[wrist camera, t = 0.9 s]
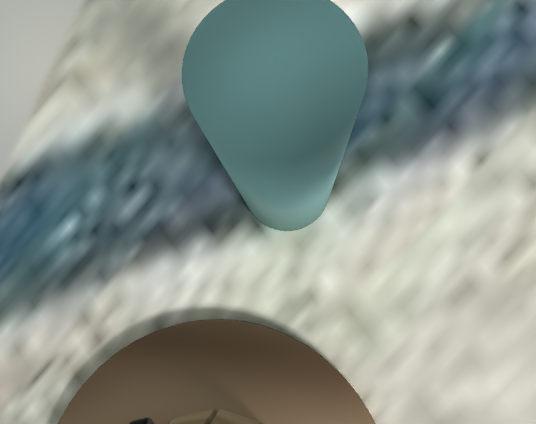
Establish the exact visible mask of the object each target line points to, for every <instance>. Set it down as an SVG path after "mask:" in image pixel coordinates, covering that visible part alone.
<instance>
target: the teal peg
mask: <svg viewBox="0 0 536 424" xmlns="http://www.w3.org/2000/svg"><path fill="white" fill-rule="evenodd" d="M367 80H368V59H367V53H366V49H365V45H364V43H363V40H362V37H361V35H360V33H359V31H358V30H357V28H356V26H355V24H354V23H353V22H352V21H351V19H350V18H349V17H348V15H347V14H346V13H345V12H344V11H343V10H342V9H341V8H339V7H338V6H337V5H335V4H334V3H333V2H332V1H330V0H225V1H224V2H222V3H220V4H219V5H218V6H217V7H215V8H214V9H213V10H212V11H211V12H210V13H209V14H208V15H207V16H206V17H205V18H204V19H203V20H202V21H201V23H200V24H199V25H198V27H197V28H196V30H195V31H194V33H193V35H192V36H191V38H190V41H189V43H188V45H187V48H186V51H185V55H184V59H183V66H182V84H183V91H184V95H185V98H186V102H187V104H188V107H189V109H190V111H191V113H192V115H193V117H194V118H195V120H196V121H197V123H198V125H199V126H200V128H201V130H202V131H203V133H204V135H205V136H206V138H207V140H208V141H209V143H210V145H211V146H212V148H213V150H214V151H215V153H216V155H217V156H218V158H219V159H220V161H221V163H222V164H223V166H224V168H225V169H226V171H227V173H228V174H229V176H230V178H231V179H232V181H233V183H234V184H235V186H236V188H237V189H238V191H239V192H240V194H241V196H242V197H243V199H244V201H245V202H246V204H247V206H248V207H249V209H250V211H251V212H252V214H253V215H254V216H255V217H256V218H257V219H258V220H259V221H260V222H261V223H263V224H264V225H266V226H268V227H270V228H273V229H276V230H281V231H293V230H298V229H301V228H304V227H306V226H308V225H309V224H311V223H313V222H314V221H315V220H316V219H317V218H318V217H319V216H320V215H321V213H322V212H323V211H324V209H325V207H326V205H327V202H328V199H329V196H330V193H331V190H332V187H333V184H334V181H335V178H336V175H337V173H338V170H339V167H340V164H341V161H342V158H343V155H344V152H345V149H346V146H347V143H348V140H349V138H350V135H351V132H352V129H353V126H354V123H355V120H356V117H357V114H358V111H359V108H360V105H361V102H362V100H363V97H364V94H365V90H366V85H367Z"/></svg>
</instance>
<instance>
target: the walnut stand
mask: <svg viewBox="0 0 536 424" xmlns="http://www.w3.org/2000/svg"><path fill="white" fill-rule="evenodd" d="M144 417H149V418H151V419H152V421H153V422H154V424H375V422H374V420H373V418H372V416H371V414H370V413H369V411H368V409H367V408H366V406H365V405H364V403H363V402H362V400H361V398H360V397H359V395H358V394H357V393H356V391H355V390H354V389H353V388H352V386H351V385H350V384H349V383H348V382H347V380H346V379H345V378H344V377H343V375H342V374H340V373H339V372H338V371H337V370H336V369H335V368H334V367H333V366H332V365H331V364H330V363H329V362H328V361H327V360H326V359H324V358H323V357H322V356H320V355H319V354H318V353H316V352H315V351H313V350H312V349H311V348H309V347H308V346H307V345H305V344H303V343H301V342H299V341H298V340H296V339H294V338H292V337H290V336H288V335H287V334H284V333H281V332H279V331H276V330H274V329H271V328H268V327H266V326H261V325H257V324H253V323H249V322H245V321H235V320H224V319H219V320H199V321H194V322H188V323H182V324H178V325H175V326H172V327H168V328H165V329H162V330H159V331H156V332H154V333H151V334H149V335H147V336H145V337H143V338H141V339H139V340H137V341H135V342H133V343H132V344H130V345H128V346H127V347H125V348H124V349H122V350H121V351H119V352H118V353H116V354H115V355H114V356H112V357H111V358H110V359H109V360H108V361H106V362H105V363H104V364H103V365H102V366H100V367H99V368H98V369H97V370H96V371H95V372H94V374H93V375H92V376H91V377H90V378H89V379H88V380H87V381H86V382H85V383H84V384H83V385H82V387H81V388H80V390H79V391H78V392H77V394H76V395H75V396H74V398H73V399H72V401H71V402H70V403H69V405H68V407H67V408H66V410H65V412H64V414H63V416H62V417H61V419H60V421H59V423H58V424H129V423H130V422H131V421H133V420H136V419H140V418H144Z"/></svg>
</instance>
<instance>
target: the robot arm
mask: <svg viewBox="0 0 536 424" xmlns="http://www.w3.org/2000/svg"><path fill="white" fill-rule="evenodd" d="M129 424H154V422H153V421H152V419H151V418H149V417H144V418H140V419H136V420H133V421H131V422H130V423H129Z"/></svg>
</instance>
